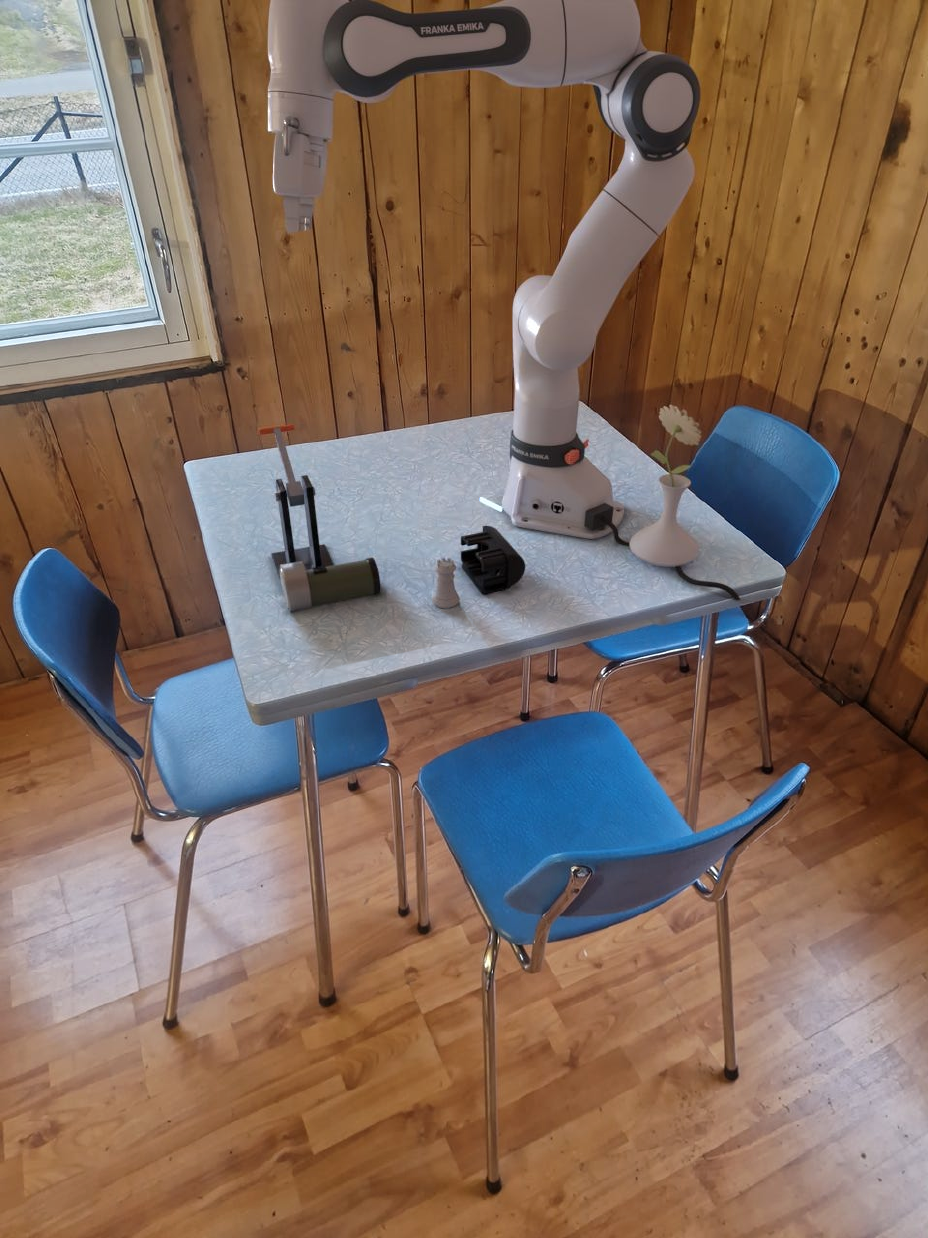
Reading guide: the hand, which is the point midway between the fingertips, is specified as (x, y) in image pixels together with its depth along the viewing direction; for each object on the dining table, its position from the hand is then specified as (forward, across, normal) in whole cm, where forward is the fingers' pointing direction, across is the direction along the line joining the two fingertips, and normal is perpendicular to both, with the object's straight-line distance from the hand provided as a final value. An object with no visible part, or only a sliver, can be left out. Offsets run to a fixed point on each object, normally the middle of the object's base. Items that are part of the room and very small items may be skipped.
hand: (299, 231), depth 121 cm
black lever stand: (+50, -9, -3) cm, 51 cm away
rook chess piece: (+49, -19, -27) cm, 59 cm away
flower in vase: (+43, -3, -62) cm, 76 cm away
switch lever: (+34, -5, 0) cm, 34 cm away
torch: (+50, -17, -9) cm, 54 cm away
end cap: (+47, -10, -34) cm, 59 cm away
